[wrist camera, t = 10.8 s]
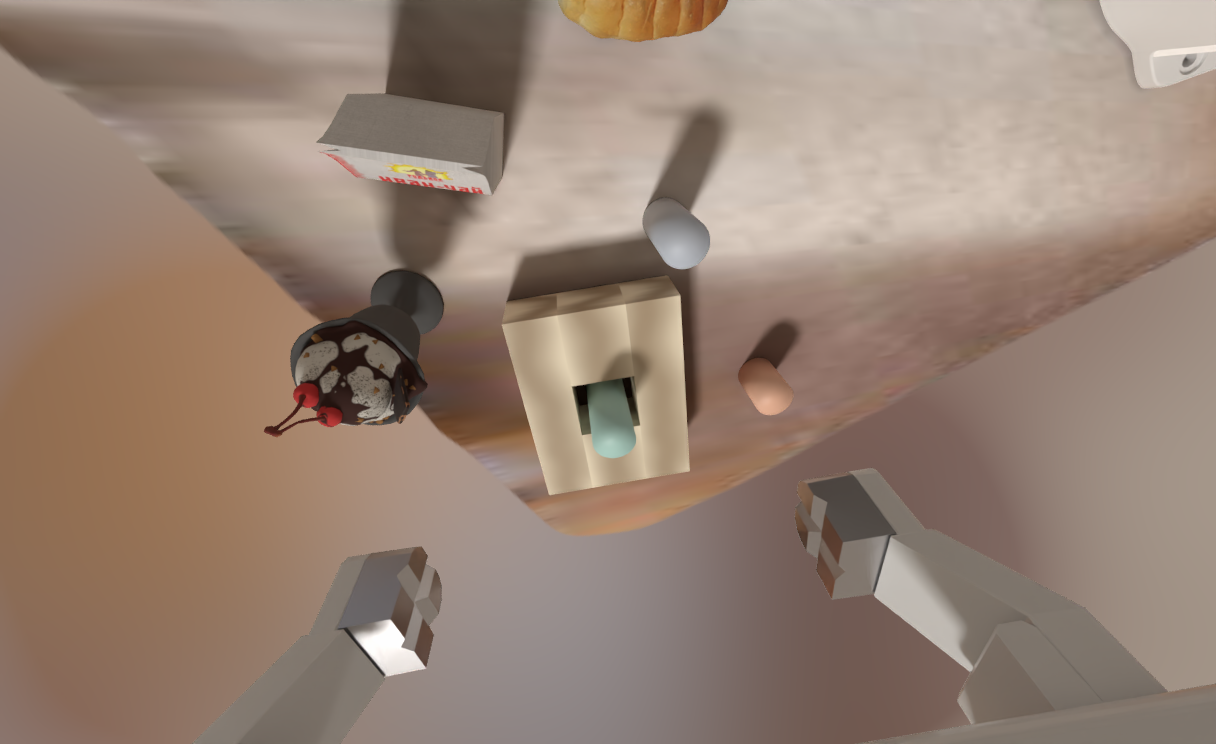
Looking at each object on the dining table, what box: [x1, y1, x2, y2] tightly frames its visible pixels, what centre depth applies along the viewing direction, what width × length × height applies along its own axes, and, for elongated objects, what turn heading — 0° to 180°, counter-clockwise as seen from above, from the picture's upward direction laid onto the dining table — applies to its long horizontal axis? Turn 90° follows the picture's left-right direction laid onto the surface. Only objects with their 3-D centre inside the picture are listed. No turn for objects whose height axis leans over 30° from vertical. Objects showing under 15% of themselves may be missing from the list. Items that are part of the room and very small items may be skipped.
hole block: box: [502, 275, 690, 495], centre depth 37 cm, size 12×16×4 cm
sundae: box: [264, 271, 443, 437], centre depth 27 cm, size 7×7×15 cm
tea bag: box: [316, 94, 504, 195], centre depth 24 cm, size 4×7×10 cm, turn 81°
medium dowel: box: [643, 198, 710, 269], centre depth 30 cm, size 3×3×6 cm
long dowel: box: [586, 378, 636, 458], centre depth 35 cm, size 3×3×8 cm
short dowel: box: [738, 358, 793, 415], centre depth 38 cm, size 3×3×4 cm
